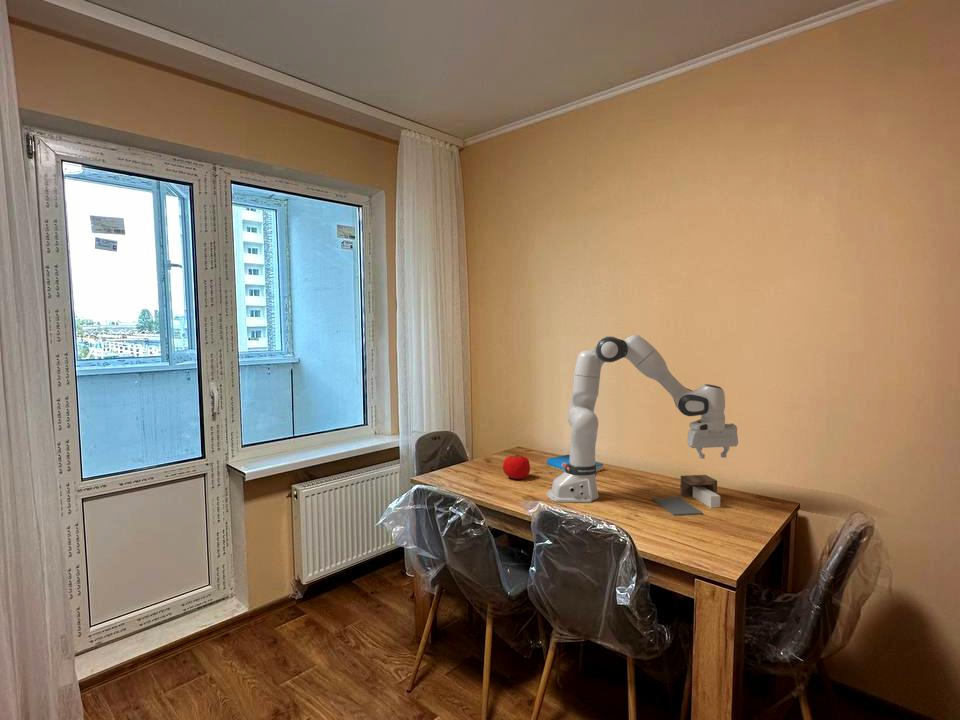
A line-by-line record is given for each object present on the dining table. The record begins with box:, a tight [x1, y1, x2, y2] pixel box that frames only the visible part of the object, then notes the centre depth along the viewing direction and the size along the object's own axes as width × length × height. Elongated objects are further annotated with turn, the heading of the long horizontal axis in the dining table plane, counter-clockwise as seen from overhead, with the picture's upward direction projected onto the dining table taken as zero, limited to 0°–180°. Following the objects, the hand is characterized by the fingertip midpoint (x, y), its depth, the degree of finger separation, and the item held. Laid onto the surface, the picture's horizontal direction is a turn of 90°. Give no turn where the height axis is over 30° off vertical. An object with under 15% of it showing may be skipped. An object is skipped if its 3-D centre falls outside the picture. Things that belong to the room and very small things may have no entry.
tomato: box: [502, 454, 531, 480], centre depth 245 cm, size 12×13×12 cm
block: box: [692, 486, 721, 509], centre depth 209 cm, size 4×14×5 cm, turn 6°
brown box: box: [679, 474, 718, 496], centre depth 214 cm, size 12×9×8 cm
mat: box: [651, 496, 704, 516], centre depth 203 cm, size 12×19×1 cm, turn 6°
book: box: [546, 453, 604, 472], centre depth 263 cm, size 17×4×25 cm
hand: (712, 457), depth 204 cm, fingers open, 8 cm apart
